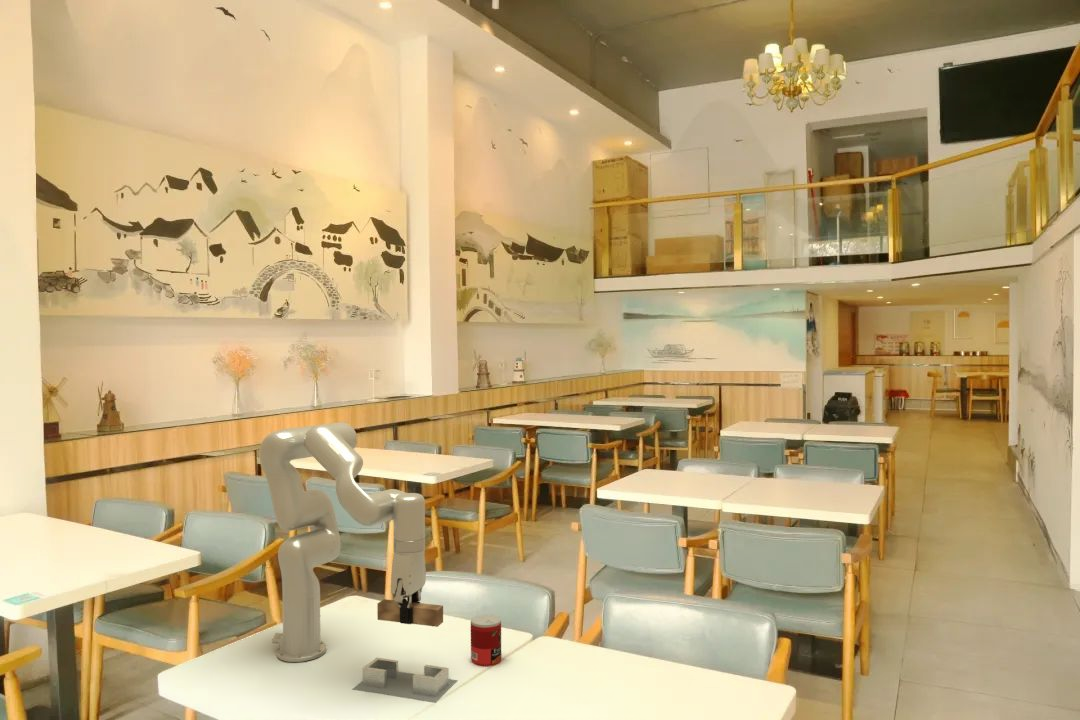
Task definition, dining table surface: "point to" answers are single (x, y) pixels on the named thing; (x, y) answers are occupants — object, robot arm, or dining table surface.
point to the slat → (421, 613)
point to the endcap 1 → (379, 672)
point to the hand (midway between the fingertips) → (410, 619)
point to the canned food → (486, 640)
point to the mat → (403, 688)
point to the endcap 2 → (431, 680)
